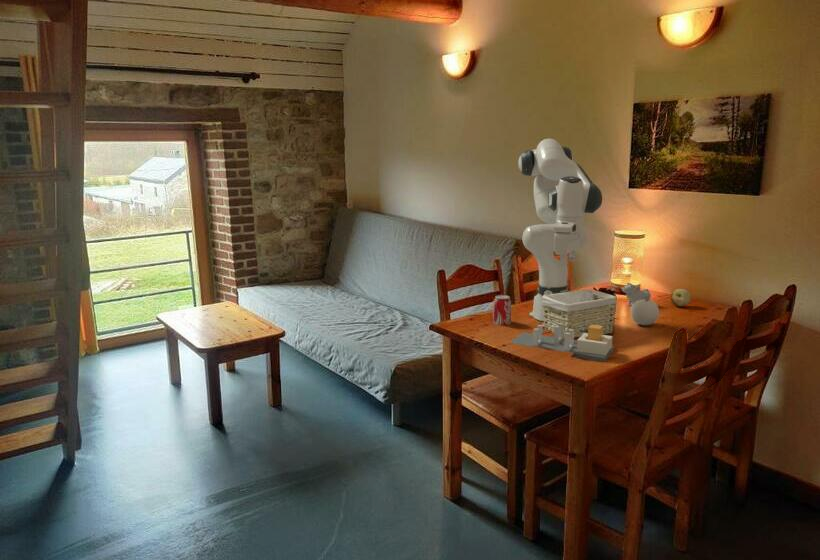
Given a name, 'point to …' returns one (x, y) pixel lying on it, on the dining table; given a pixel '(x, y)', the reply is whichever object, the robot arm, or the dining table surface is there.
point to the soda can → (502, 310)
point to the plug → (594, 332)
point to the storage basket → (579, 310)
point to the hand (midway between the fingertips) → (567, 263)
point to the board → (568, 343)
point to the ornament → (645, 312)
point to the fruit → (680, 297)
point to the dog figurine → (635, 293)
